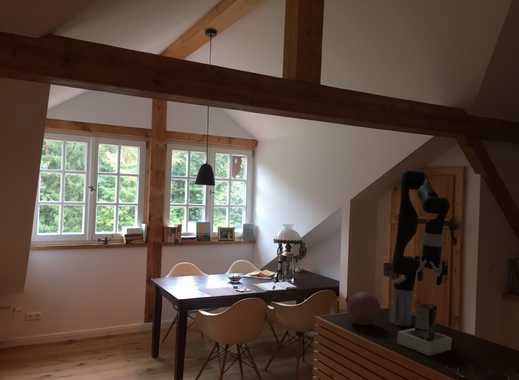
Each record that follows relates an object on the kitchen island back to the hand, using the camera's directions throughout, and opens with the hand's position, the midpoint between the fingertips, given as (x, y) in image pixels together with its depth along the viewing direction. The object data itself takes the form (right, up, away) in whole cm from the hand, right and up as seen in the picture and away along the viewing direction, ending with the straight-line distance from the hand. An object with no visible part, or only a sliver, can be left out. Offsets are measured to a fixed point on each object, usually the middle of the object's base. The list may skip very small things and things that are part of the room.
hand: (429, 282), depth 186 cm
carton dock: (-2, -27, 0) cm, 27 cm away
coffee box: (-2, -26, 0) cm, 26 cm away
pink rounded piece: (-23, -25, +27) cm, 43 cm away
